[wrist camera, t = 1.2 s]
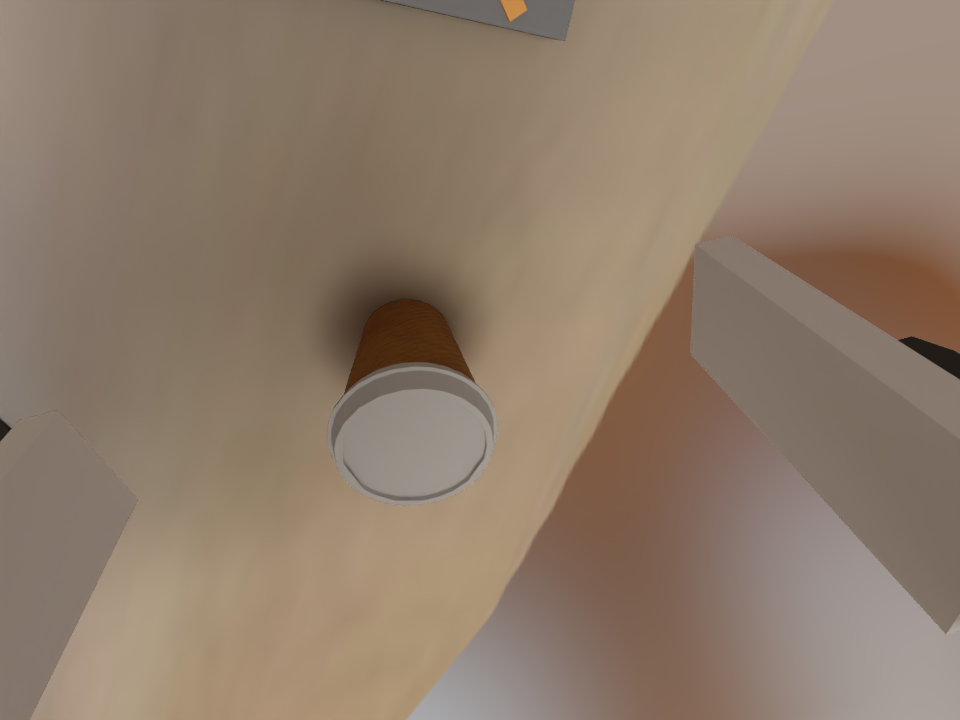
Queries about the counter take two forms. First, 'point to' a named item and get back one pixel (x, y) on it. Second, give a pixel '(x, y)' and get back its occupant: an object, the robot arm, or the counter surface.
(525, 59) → the counter surface
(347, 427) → the disposable coffee cup
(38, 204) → the counter surface
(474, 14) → the stand
